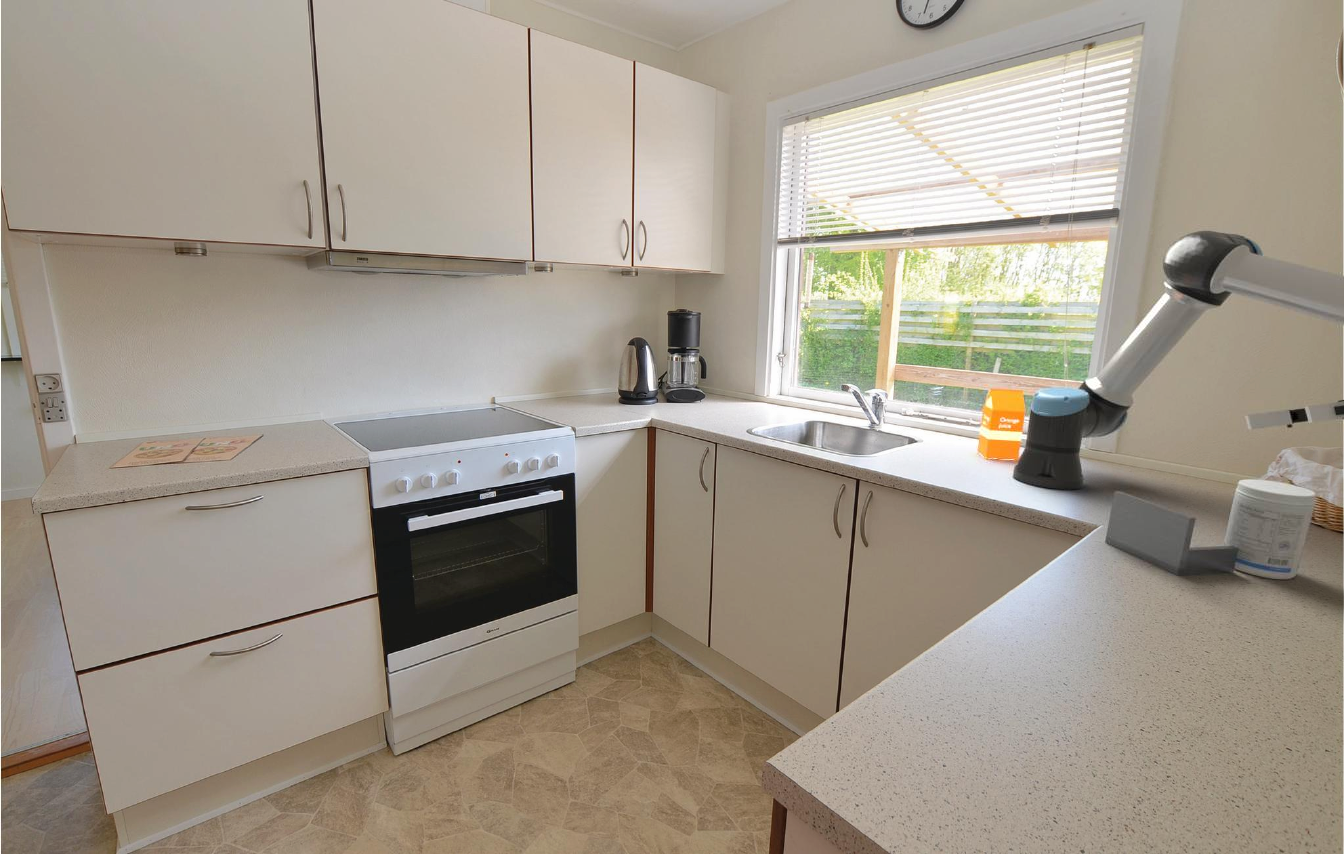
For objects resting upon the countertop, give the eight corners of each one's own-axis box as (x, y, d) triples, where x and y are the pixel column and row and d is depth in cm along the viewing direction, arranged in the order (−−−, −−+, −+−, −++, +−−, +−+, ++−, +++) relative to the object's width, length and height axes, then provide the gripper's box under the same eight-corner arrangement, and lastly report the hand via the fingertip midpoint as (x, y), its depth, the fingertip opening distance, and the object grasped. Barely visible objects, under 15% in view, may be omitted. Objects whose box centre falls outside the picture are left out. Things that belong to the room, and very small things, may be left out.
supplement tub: (1235, 553, 109) (1253, 476, 106) (1306, 575, 101) (1329, 491, 98) (1208, 562, 105) (1226, 481, 102) (1280, 585, 96) (1302, 498, 93)
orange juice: (1018, 461, 172) (1028, 392, 168) (985, 459, 173) (994, 390, 169) (1008, 454, 179) (1017, 388, 175) (976, 452, 181) (985, 387, 177)
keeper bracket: (1105, 542, 113) (1114, 491, 111) (1155, 540, 114) (1165, 490, 112) (1177, 575, 99) (1189, 518, 97) (1233, 572, 101) (1246, 516, 99)
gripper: (1517, 412, 88) (1345, 434, 92) (1362, 427, 112) (1231, 444, 116) (1501, 362, 89) (1332, 386, 93) (1351, 388, 113) (1222, 406, 117)
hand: (1276, 418), depth 105 cm, fingers open, 13 cm apart
